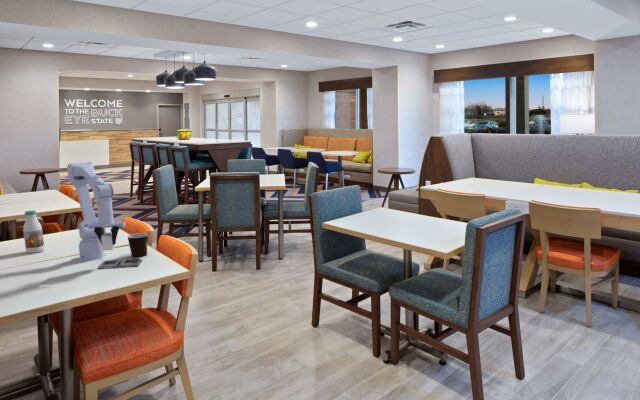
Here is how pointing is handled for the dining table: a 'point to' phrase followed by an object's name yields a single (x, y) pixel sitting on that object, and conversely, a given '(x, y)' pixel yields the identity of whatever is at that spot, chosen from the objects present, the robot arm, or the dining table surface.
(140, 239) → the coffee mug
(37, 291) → the dining table surface
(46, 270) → the dining table surface
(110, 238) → the plug
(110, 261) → the panel
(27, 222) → the milk bottle
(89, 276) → the dining table surface
